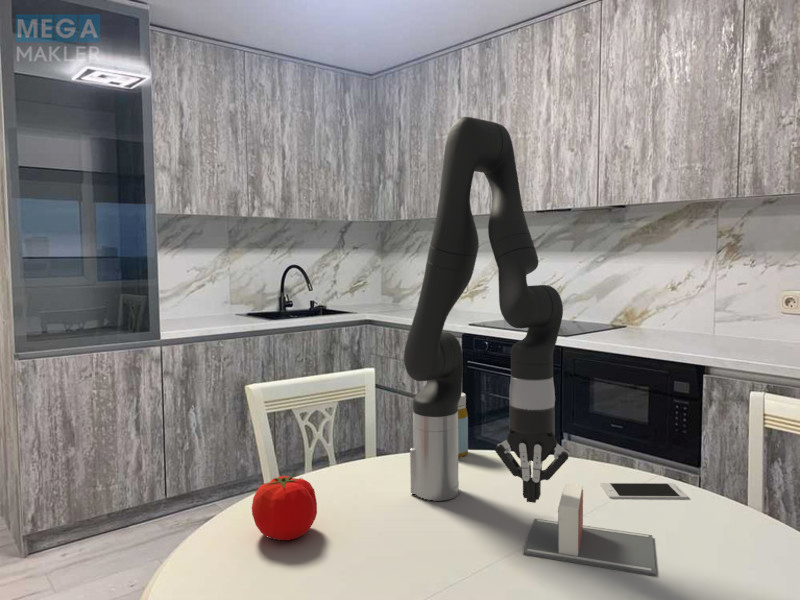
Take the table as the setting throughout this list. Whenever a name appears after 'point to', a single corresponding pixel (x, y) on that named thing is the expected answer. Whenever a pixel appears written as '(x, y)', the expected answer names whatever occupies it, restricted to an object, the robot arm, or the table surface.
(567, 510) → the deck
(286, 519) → the tomato
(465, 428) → the bottle
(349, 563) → the table surface
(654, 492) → the smartphone
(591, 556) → the mat
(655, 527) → the table surface
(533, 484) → the robot arm
